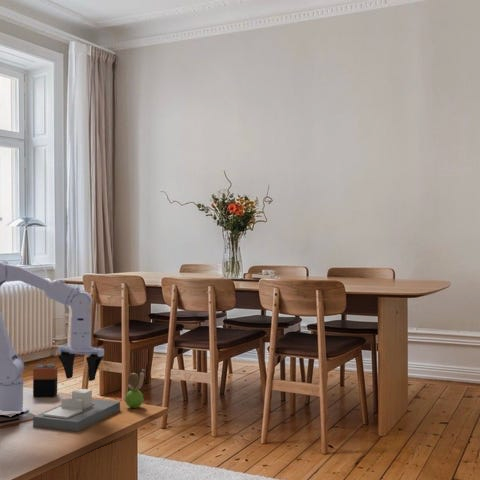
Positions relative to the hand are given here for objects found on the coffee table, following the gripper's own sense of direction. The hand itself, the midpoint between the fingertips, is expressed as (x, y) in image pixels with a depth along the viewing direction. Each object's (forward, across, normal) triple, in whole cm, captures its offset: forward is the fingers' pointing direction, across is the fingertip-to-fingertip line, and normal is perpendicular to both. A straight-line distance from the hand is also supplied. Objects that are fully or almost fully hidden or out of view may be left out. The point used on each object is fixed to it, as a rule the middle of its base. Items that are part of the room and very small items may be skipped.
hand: (80, 379), depth 186 cm
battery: (+10, -21, +12) cm, 26 cm away
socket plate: (+9, +3, -6) cm, 12 cm away
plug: (+9, +2, -3) cm, 10 cm away
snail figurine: (+10, +13, +9) cm, 19 cm away
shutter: (+7, +3, -11) cm, 14 cm away
